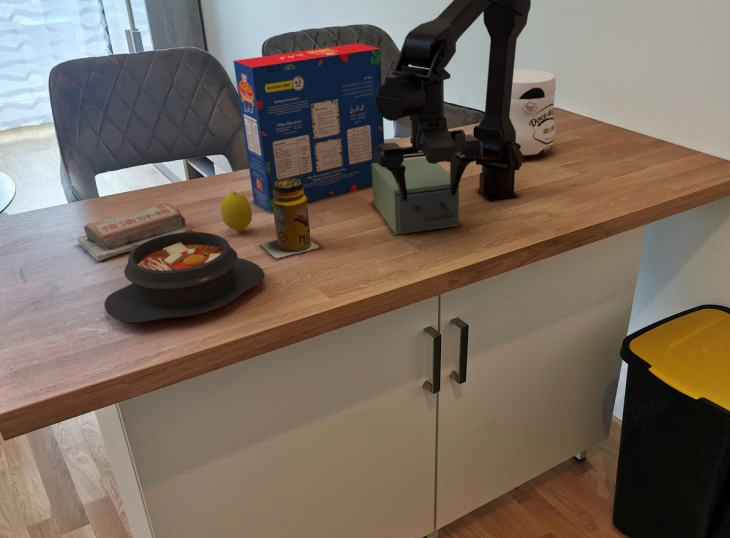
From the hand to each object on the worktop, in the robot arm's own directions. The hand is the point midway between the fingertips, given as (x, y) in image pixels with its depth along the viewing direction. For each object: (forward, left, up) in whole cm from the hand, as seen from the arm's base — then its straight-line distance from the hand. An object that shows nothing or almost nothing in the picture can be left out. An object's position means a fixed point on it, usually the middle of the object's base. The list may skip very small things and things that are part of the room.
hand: (429, 197), depth 133 cm
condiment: (+26, -3, -7) cm, 27 cm away
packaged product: (+53, -16, -7) cm, 55 cm away
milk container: (-36, -40, -7) cm, 55 cm away
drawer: (0, -6, -6) cm, 8 cm away
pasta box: (+15, -29, -7) cm, 34 cm away
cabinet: (0, -10, -7) cm, 13 cm away
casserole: (+44, +11, -7) cm, 46 cm away
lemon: (+34, -13, -7) cm, 37 cm away
